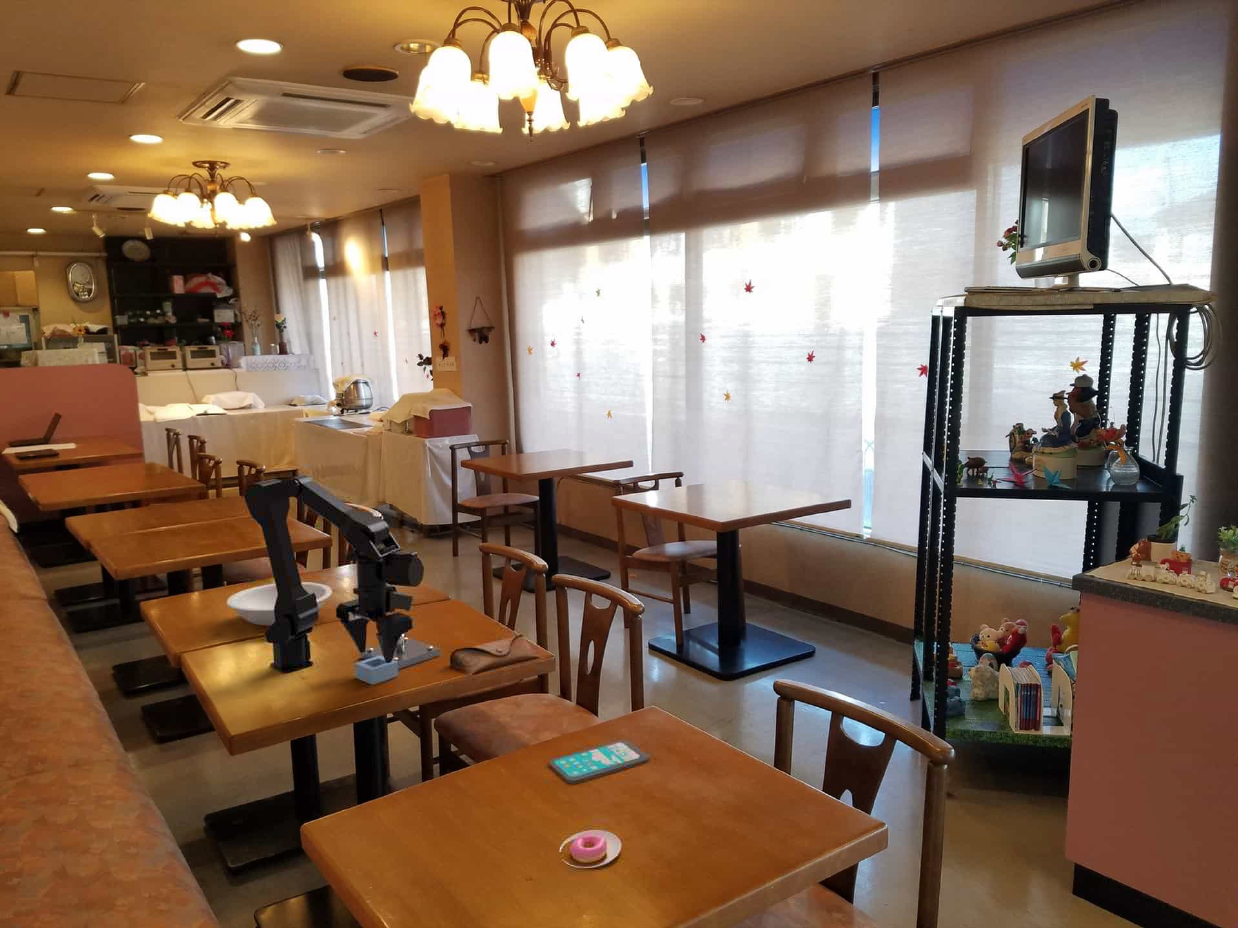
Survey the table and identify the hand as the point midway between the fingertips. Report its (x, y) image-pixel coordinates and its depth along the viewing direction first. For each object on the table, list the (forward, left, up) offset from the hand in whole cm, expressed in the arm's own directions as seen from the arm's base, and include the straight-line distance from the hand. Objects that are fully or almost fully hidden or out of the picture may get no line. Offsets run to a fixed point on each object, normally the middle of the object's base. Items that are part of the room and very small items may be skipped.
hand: (375, 657), depth 178 cm
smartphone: (+2, -59, -5) cm, 59 cm away
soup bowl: (+6, +49, -4) cm, 49 cm away
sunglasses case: (+22, -12, -5) cm, 25 cm away
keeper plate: (+10, +6, -4) cm, 12 cm away
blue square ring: (0, 0, -4) cm, 4 cm away
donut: (-16, -75, -5) cm, 77 cm away
